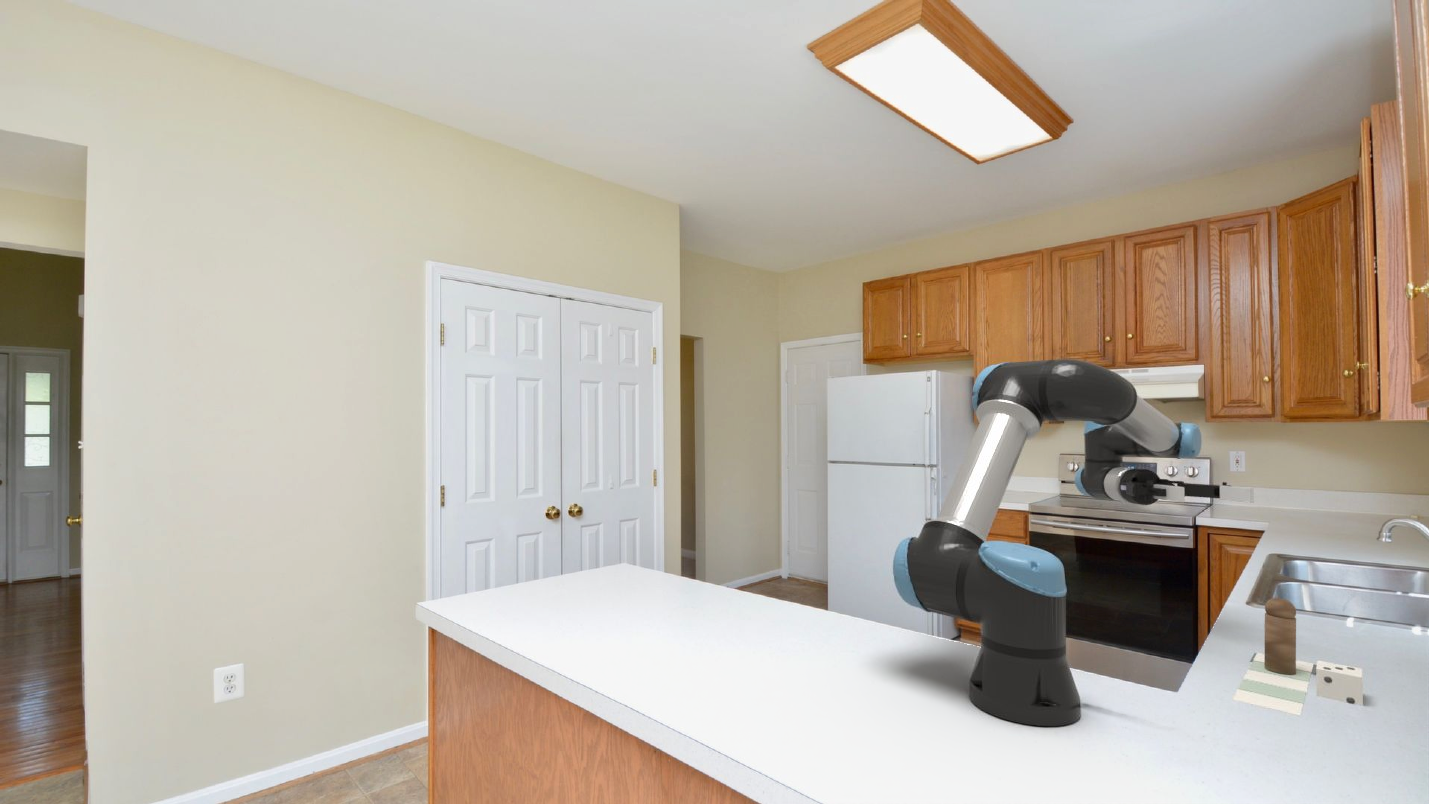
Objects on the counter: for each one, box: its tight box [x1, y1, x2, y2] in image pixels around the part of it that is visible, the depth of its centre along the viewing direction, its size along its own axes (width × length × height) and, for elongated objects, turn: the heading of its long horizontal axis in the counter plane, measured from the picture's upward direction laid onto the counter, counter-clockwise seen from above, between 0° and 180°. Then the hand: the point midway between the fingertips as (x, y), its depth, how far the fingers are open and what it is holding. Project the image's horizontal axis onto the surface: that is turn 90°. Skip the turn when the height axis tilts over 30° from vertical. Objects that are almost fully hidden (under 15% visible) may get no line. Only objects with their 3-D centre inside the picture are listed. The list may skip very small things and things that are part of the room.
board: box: [1232, 652, 1317, 717], centre depth 106 cm, size 8×30×1 cm, turn 135°
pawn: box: [1264, 597, 1297, 675], centre depth 110 cm, size 4×4×12 cm
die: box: [1315, 660, 1364, 707], centre depth 100 cm, size 5×5×5 cm
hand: (1217, 495), depth 120 cm, fingers open, 13 cm apart
